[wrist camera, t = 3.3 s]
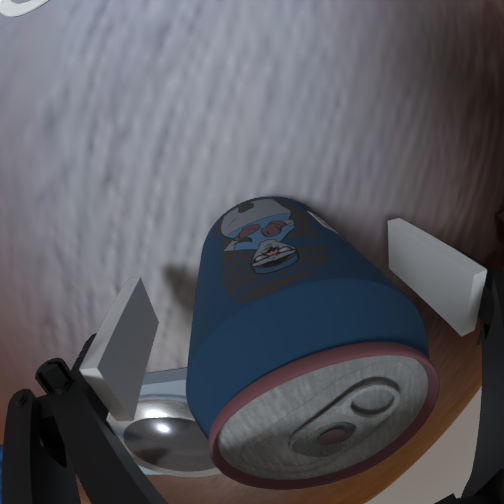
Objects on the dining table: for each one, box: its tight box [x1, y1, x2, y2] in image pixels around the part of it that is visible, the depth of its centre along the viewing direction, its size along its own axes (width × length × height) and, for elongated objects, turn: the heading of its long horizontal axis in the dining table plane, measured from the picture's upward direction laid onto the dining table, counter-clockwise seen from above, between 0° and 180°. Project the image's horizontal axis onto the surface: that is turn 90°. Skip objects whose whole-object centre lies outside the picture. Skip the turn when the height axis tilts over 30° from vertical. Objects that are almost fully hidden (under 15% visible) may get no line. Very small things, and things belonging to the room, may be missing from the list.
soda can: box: [186, 197, 439, 490], centre depth 11 cm, size 7×7×12 cm
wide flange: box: [108, 394, 222, 477], centre depth 20 cm, size 12×12×1 cm
